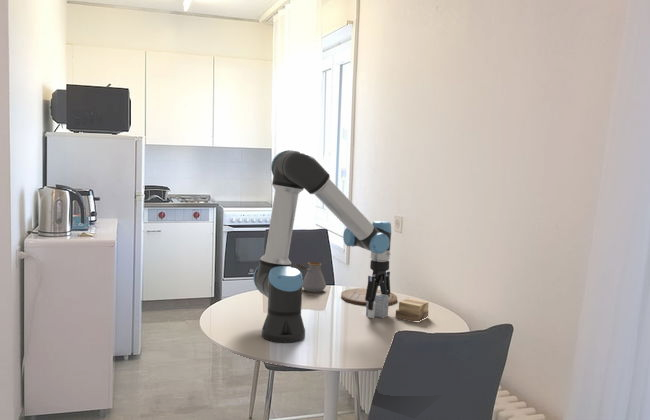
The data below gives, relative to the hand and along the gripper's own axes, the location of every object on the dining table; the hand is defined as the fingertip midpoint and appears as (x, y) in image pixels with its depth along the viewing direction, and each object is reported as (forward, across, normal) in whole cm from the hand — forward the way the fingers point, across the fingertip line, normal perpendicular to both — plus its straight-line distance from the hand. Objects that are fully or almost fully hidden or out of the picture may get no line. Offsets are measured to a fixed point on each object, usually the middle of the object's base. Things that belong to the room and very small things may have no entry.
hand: (377, 314), depth 229 cm
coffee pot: (0, +10, +42) cm, 43 cm away
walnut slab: (+1, +7, -12) cm, 14 cm away
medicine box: (0, 0, 0) cm, 1 cm away
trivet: (+1, +21, +16) cm, 26 cm away
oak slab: (-3, +7, -12) cm, 15 cm away
